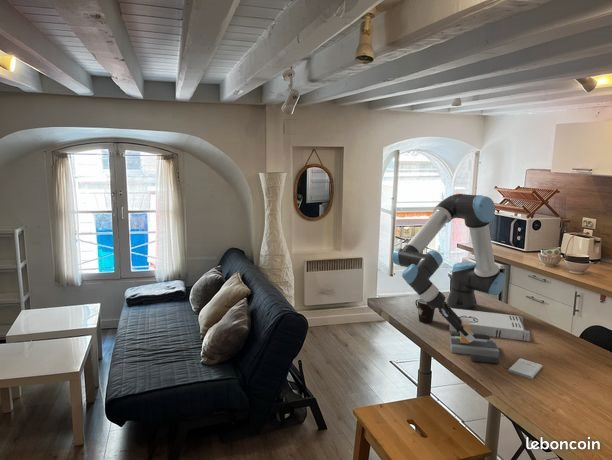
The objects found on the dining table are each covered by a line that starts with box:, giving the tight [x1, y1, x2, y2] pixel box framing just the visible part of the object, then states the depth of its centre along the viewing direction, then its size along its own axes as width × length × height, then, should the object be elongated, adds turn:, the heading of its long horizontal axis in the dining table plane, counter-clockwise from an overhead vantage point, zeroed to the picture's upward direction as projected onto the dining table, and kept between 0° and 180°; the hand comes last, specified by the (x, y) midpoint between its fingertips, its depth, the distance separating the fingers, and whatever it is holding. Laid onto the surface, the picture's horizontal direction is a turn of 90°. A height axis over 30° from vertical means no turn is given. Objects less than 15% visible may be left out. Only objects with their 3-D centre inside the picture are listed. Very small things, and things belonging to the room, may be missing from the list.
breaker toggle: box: [460, 318, 470, 344], centre depth 182 cm, size 3×4×9 cm
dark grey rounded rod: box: [450, 331, 491, 340], centre depth 193 cm, size 16×2×2 cm, turn 76°
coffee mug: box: [415, 298, 436, 324], centre depth 213 cm, size 12×9×10 cm
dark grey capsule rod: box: [470, 355, 500, 365], centre depth 171 cm, size 10×2×2 cm, turn 76°
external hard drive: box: [507, 357, 543, 380], centre depth 166 cm, size 2×8×12 cm
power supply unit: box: [449, 307, 531, 342], centre depth 205 cm, size 19×33×5 cm, turn 72°
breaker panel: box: [448, 335, 500, 359], centre depth 183 cm, size 18×11×3 cm, turn 76°
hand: (471, 338), depth 182 cm, fingers closed on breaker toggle, 4 cm apart
